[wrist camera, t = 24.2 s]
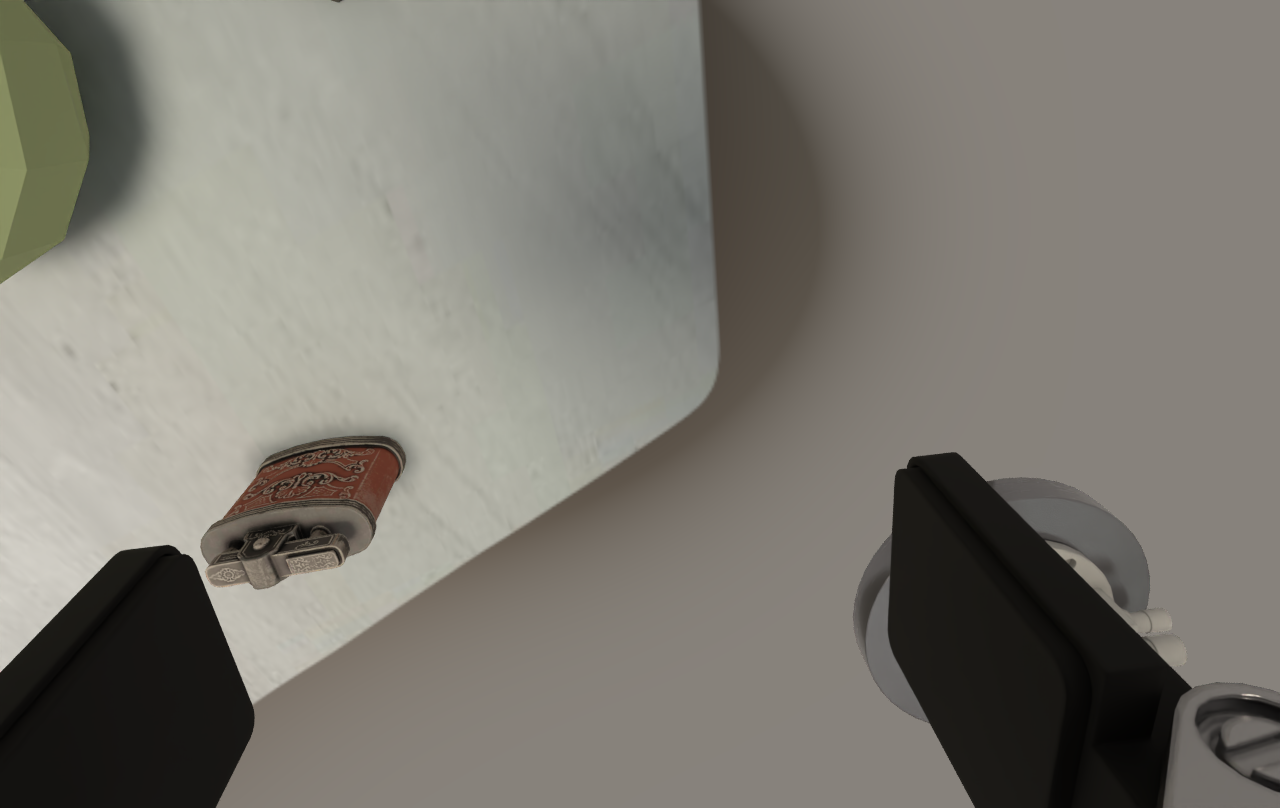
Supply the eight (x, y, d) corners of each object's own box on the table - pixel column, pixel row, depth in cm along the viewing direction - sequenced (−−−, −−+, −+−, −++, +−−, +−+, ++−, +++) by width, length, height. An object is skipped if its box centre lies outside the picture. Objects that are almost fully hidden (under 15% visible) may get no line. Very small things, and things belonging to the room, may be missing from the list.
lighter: (274, 503, 43) (191, 619, 34) (252, 451, 42) (160, 557, 33) (413, 479, 43) (367, 588, 34) (396, 427, 42) (344, 526, 33)
